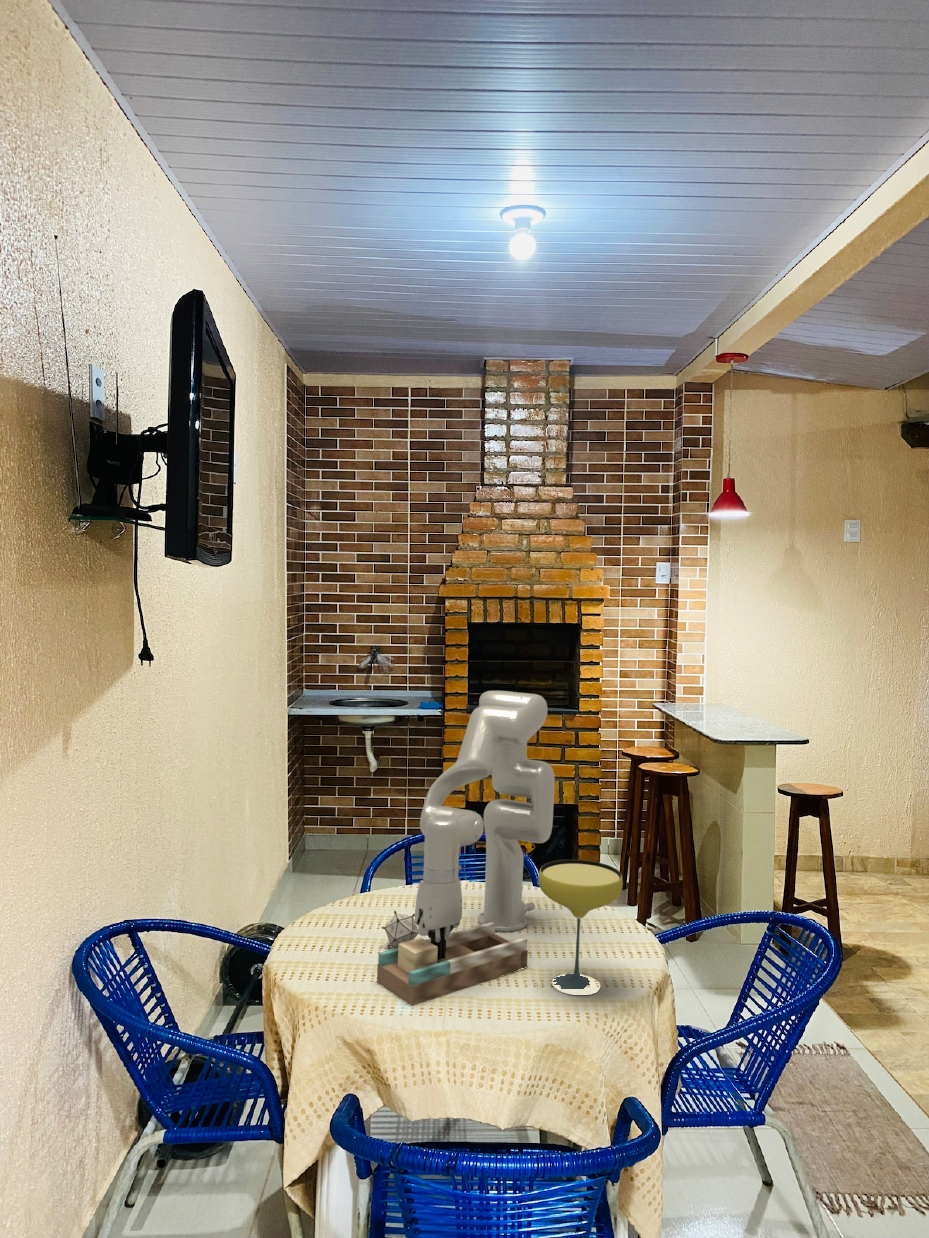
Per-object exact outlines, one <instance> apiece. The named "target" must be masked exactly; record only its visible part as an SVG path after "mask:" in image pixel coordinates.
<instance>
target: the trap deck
mask: <svg viewBox="0 0 929 1238" xmlns="http://www.w3.org/2000/svg"><path fill="white" fill-rule="evenodd" d="M425 940H426V941H428V942H430V943H431V939H430V938H428V939H425ZM528 951H529V950H528V938H525V937H521V938H517V939H515V940H511V941H510V940H508V939H506V938H504V937H501V936H499V935H498V934H496V931H495V923H493V922H490V923H486V924H483V925H480V924H479V925H476V926H472V927H469V928H465V929H461V930H458V931H455V932H450V934H449V938H448V940H446V956H445V958H444V959H441V960H438V959H437V964H433V965H430V966H427V967H423V968H420V969H417V970H413V971H410V972H409V973H407V972H405V971H404V970H402V969H401V968H399V967H398V947H395V948H393V949H389V950H384V951H382V952H378V958H377V959H378V960H377V961H378V962H377V965H376V966H377V968H376V969H377V970H376V975H377V977H376V983H377V984H379V985H381V986H382V987H383V988H385V990H388V991H389V992H390V993H392V994H394V995H395V996H396V997H398V998H399V999H402V1000H403V1001H404V1002H406V1003H408V1004H409V1005H410V1006H415V1005H418V1004H421V1003H425V1002H427V1001H431V1000H433V999H436V998H439V997H443V996H446V995H449V994H452V993H454V992H458V991H461V990H464V989H467V988H470V987H473V986H476V985H479V984H482V983H481V982H483V983H485V981H486V982H488V980H489V981H491V980H490V979H492V980H495V979H498V978H500V976H501V977H503V976H502V975H504V976H506V974H507V975H509V974H508V973H510V974H512V973H511V972H513V973H515V972H514V971H516V972H518V971H517V970H519V969H521V968H525V967H527V968H528V958H529V957H528V955H529V952H528ZM525 969H526V968H525ZM519 971H520V970H519ZM494 978H495V979H494ZM478 983H479V984H478Z"/></svg>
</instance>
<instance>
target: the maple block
mask: <svg viewBox="0 0 929 1238" xmlns="http://www.w3.org/2000/svg"><path fill="white" fill-rule="evenodd" d="M426 940H427V939H424V938H423V937H418V938H415V939H414V940H411V941H407V942H403V943H400V944H398V946H397V948H398V967H399V968H401V969H402V970H404V971H405V972H407V973H409V972H410V971H413V970H417V969H420V968H423V967H427V966H430V965H433V964H437V953H438V947H437V946H435V945H433V944H432V943H430V942H428V941H426Z"/></svg>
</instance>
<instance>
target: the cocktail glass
mask: <svg viewBox="0 0 929 1238" xmlns="http://www.w3.org/2000/svg"><path fill="white" fill-rule="evenodd" d="M538 885H539V888H540V890H541V891H542V893H543V894H544V895H546V896H547V898H549V899H550V900H551V901H553V902H555V903H556V904H558V905H561V906H562V907H565V908H566V909H568V910H569V911H570V912H571V914H572V916H573V917H574V918H576V919H577V920H576V922H577V923H576V941H575V942H576V946H575V959H574V960H575V961H574V962H575V963H574V970H573V973H574V974H566V975H565V976H560V977H556V978H554V977H553V978H554V979H556V980H554V981H553V982H557V983H556V984H554V985H560V986H561V989H584V988H585V987H586V986H587V985H590V984H589V982H590V981H589V980H588V978H586V977H583V976H580V974H581V973H580V963H579V962H580V937H581V936H580V935H581V932H580V931H581V919H583V918H584V917H585V916H586V915H587V914H589V913H590V911H592V910H596V909H598V908H602V907H605V906H608V905H610V904H611V903H612V902H614V901H616V900H617V899H618V898H619V897H620V896H621V894H622V891H623V885H624V881H623V875H622V873H621V871H620V870H619V869H617V868H615V867H613V866H611V865H608V864H605V863H602V862H598V861H593V860H588V859H587V860H585V859H584V860H583V859H560V860H559V859H558V860H553V861H549V862H547V863H544V864H543V865H542V866H541V867H540V869H539V871H538Z"/></svg>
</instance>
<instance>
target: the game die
mask: <svg viewBox="0 0 929 1238" xmlns="http://www.w3.org/2000/svg"><path fill="white" fill-rule="evenodd" d="M393 914H394V915H393V916H392V917H391V919H390V920H389V921H388V922H387V924H386V925H385V926H382V927H380V928H381V929H382V930H385V933H386V935H387V938H388V941H389V944H388V949H389V948H391V947H392V946H396V947H398V944H400V943H403V942H407V941H411V940H414V939H416V937H417V936H418V935H419V934H418V926H417V924H415V913H413V914H412V915H408V914H407V915H406V914H400V913H397V911H396V910H394V911H393Z"/></svg>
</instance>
